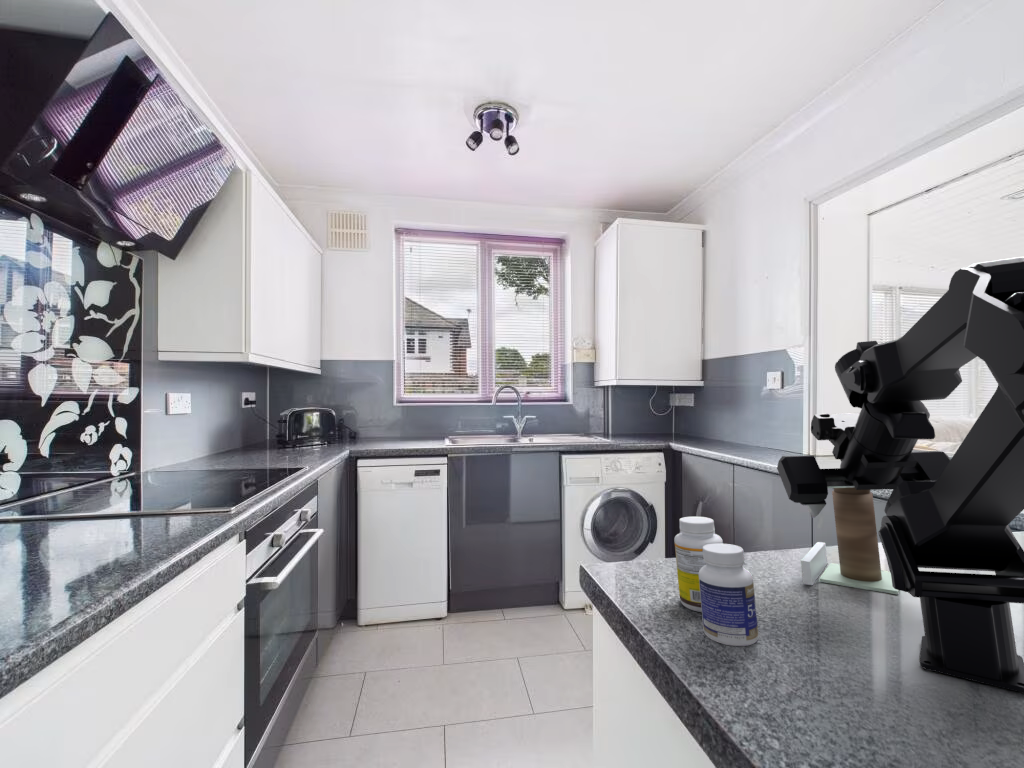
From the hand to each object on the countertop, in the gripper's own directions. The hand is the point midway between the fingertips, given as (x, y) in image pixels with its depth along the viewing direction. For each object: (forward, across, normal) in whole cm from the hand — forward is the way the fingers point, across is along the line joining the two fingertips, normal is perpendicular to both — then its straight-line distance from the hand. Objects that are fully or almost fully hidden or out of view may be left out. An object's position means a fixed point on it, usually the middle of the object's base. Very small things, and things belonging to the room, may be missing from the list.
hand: (848, 514), depth 63 cm
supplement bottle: (-3, +21, +14) cm, 26 cm away
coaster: (+5, 0, +7) cm, 8 cm away
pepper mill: (+4, 0, +6) cm, 8 cm away
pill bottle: (-8, +20, +20) cm, 29 cm away
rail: (+6, +5, +5) cm, 9 cm away
